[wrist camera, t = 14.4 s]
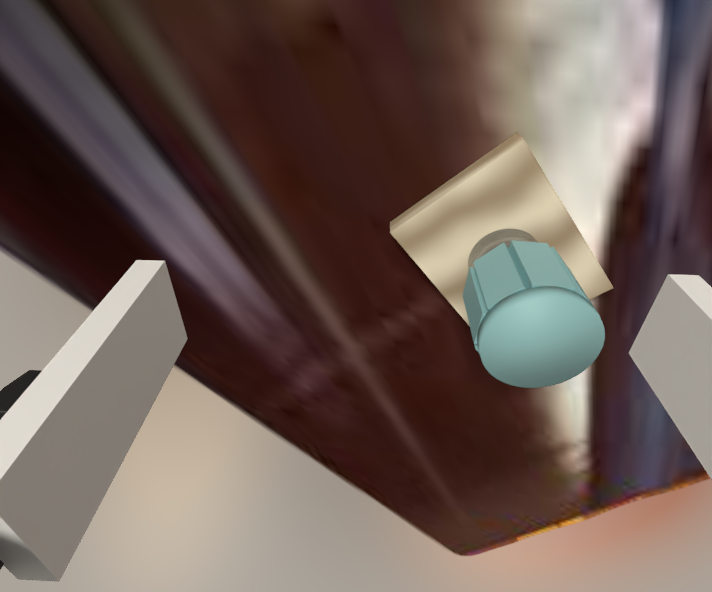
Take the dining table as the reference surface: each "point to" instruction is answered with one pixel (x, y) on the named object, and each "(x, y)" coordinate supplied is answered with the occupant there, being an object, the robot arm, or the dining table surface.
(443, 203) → the board
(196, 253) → the dining table surface
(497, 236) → the knobbed metal weight
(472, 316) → the cap
